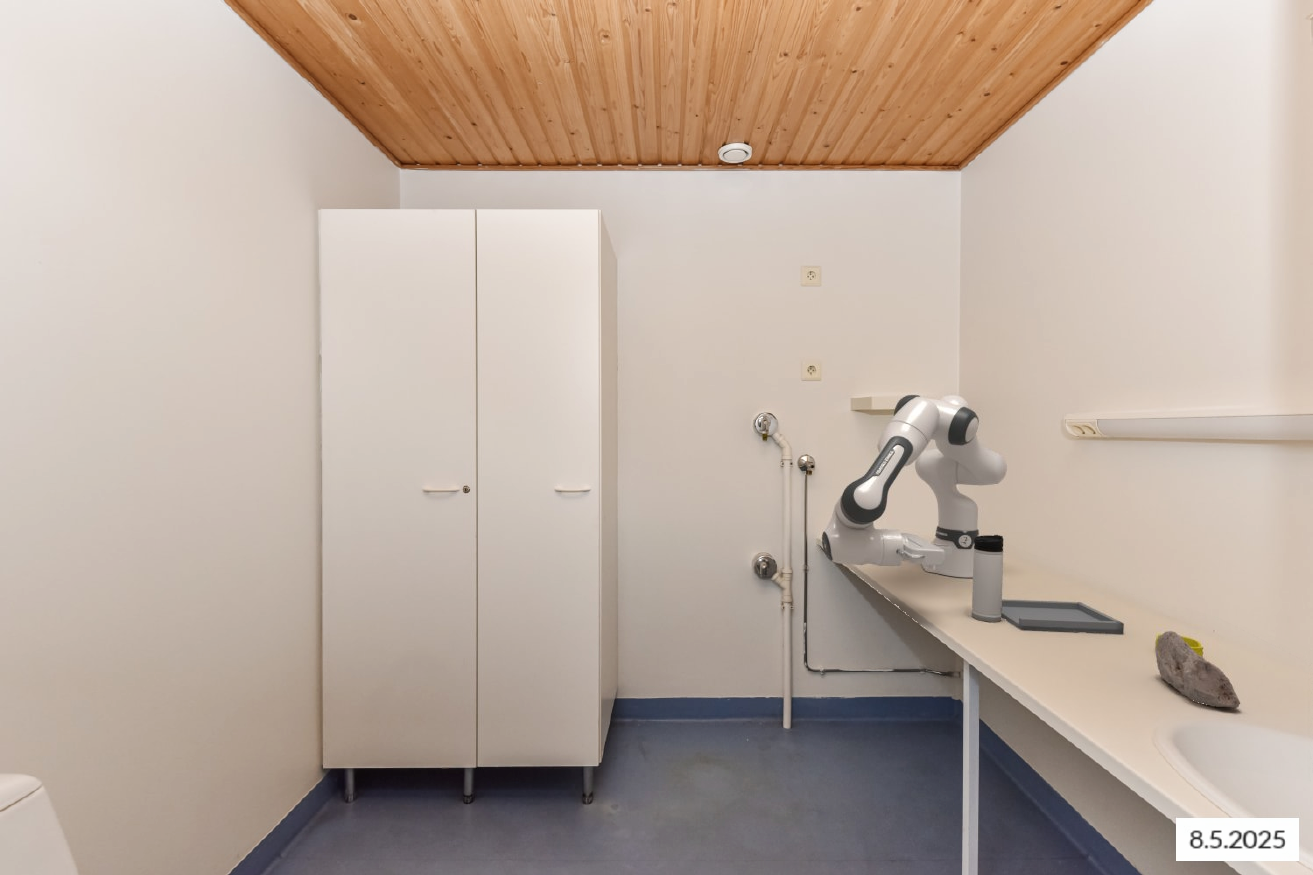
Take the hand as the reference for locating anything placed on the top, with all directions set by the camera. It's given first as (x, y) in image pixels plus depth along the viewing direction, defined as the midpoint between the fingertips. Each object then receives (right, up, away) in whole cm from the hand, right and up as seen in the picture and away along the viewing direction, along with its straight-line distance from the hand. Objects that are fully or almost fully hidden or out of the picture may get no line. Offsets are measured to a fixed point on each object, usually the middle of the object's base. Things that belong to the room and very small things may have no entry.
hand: (949, 549), depth 147 cm
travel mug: (+9, -17, 0) cm, 19 cm away
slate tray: (+24, -17, -2) cm, 29 cm away
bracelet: (+36, -18, -23) cm, 46 cm away
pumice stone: (+24, -18, -40) cm, 50 cm away
